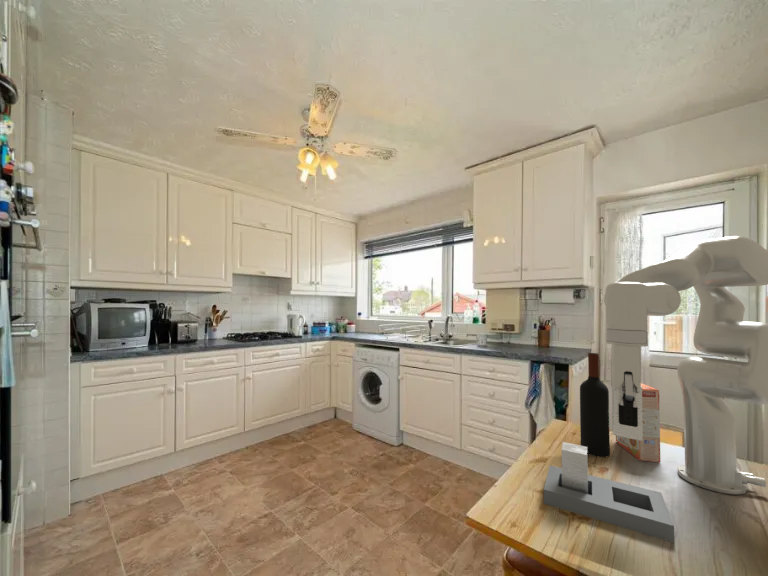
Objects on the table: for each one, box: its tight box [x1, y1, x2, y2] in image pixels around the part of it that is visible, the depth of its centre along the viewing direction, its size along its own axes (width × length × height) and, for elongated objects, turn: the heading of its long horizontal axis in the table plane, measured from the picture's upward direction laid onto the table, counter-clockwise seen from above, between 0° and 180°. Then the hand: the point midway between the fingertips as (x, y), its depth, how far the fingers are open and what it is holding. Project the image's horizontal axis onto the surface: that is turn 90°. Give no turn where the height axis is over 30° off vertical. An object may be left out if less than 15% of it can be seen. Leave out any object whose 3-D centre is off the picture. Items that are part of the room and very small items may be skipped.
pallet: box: [543, 465, 675, 543], centre depth 73 cm, size 22×13×4 cm, turn 58°
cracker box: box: [615, 382, 661, 463], centre depth 102 cm, size 14×6×21 cm, turn 168°
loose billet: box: [611, 386, 643, 441], centre depth 72 cm, size 5×5×11 cm
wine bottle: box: [579, 352, 611, 458], centre depth 102 cm, size 8×8×30 cm
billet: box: [561, 441, 589, 494], centre depth 76 cm, size 5×5×11 cm
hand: (627, 420), depth 72 cm, fingers closed on loose billet, 5 cm apart
